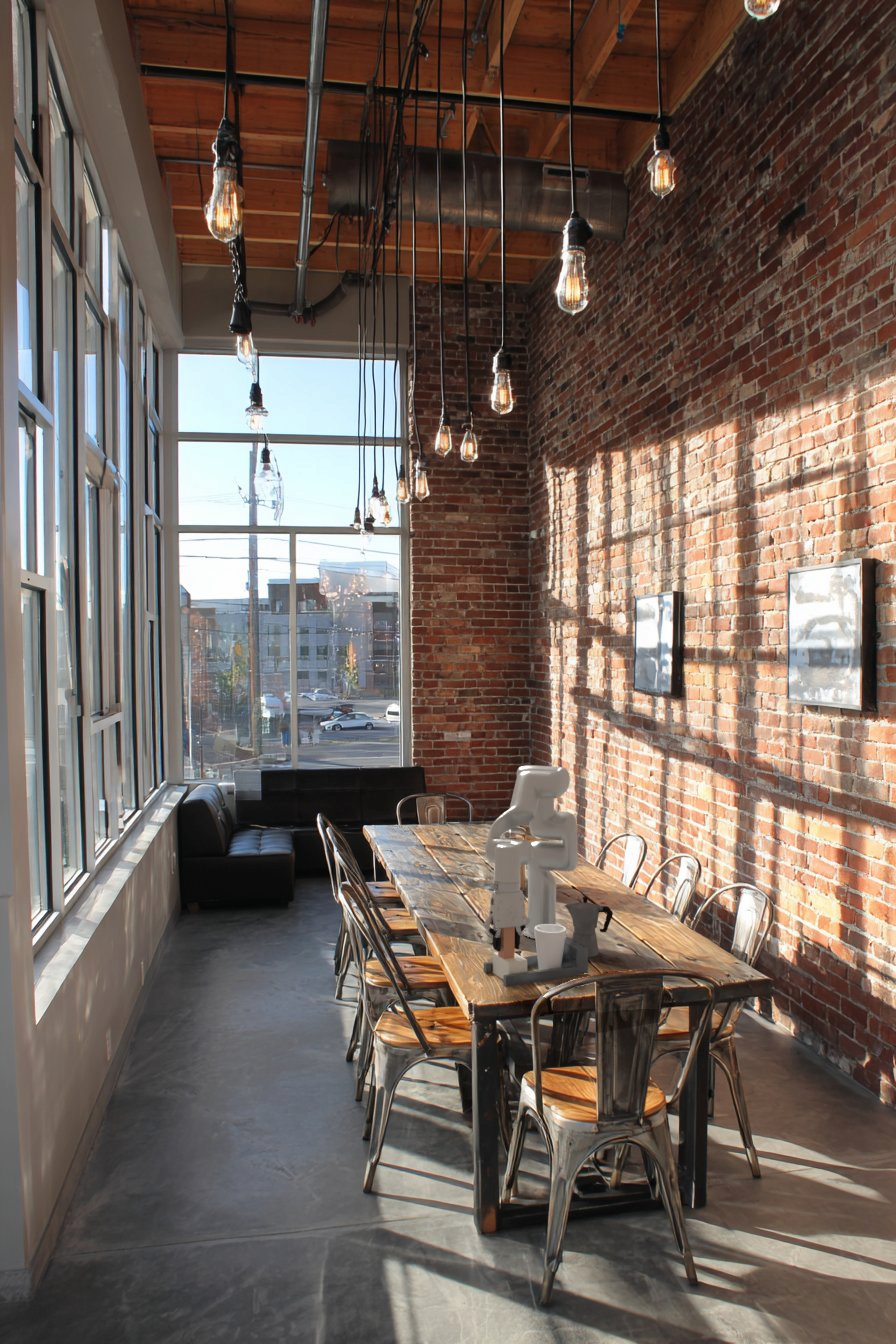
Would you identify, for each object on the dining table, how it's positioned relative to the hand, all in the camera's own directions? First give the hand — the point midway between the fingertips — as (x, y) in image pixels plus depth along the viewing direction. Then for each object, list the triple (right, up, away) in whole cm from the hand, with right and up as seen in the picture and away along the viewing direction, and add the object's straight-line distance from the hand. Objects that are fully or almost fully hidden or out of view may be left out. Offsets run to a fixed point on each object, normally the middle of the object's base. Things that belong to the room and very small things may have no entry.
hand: (506, 948), depth 275 cm
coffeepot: (+27, -9, +25) cm, 38 cm away
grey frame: (+9, -9, +4) cm, 13 cm away
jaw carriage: (+1, -8, +1) cm, 9 cm away
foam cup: (+13, -9, +6) cm, 17 cm away
